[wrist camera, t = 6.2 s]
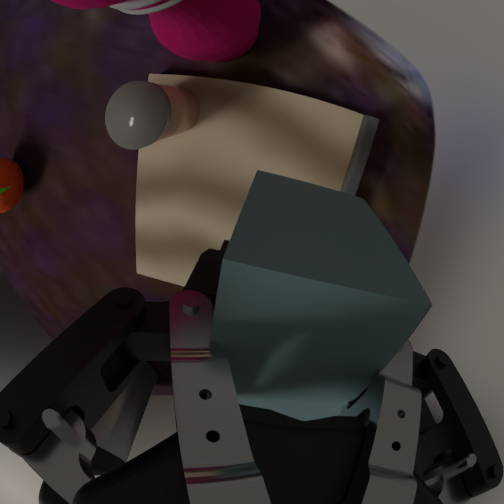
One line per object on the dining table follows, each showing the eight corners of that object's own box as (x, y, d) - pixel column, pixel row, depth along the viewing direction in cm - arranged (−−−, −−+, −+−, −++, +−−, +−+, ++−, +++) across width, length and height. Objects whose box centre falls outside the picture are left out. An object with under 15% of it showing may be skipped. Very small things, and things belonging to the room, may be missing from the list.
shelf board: (301, 304, 29) (302, 324, 26) (142, 265, 29) (130, 281, 26) (367, 117, 19) (380, 119, 16) (157, 75, 19) (140, 72, 16)
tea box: (230, 298, 15) (199, 413, 9) (257, 169, 11) (222, 259, 5) (316, 317, 15) (322, 432, 9) (366, 199, 11) (436, 305, 5)
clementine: (33, 146, 22) (-10, 164, 16) (41, 198, 26) (3, 223, 20) (4, 156, 23) (-32, 173, 17) (12, 201, 27) (-21, 222, 21)
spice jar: (196, 138, 20) (160, 153, 14) (149, 132, 20) (102, 146, 14) (205, 88, 18) (171, 82, 12) (157, 84, 18) (109, 81, 12)
